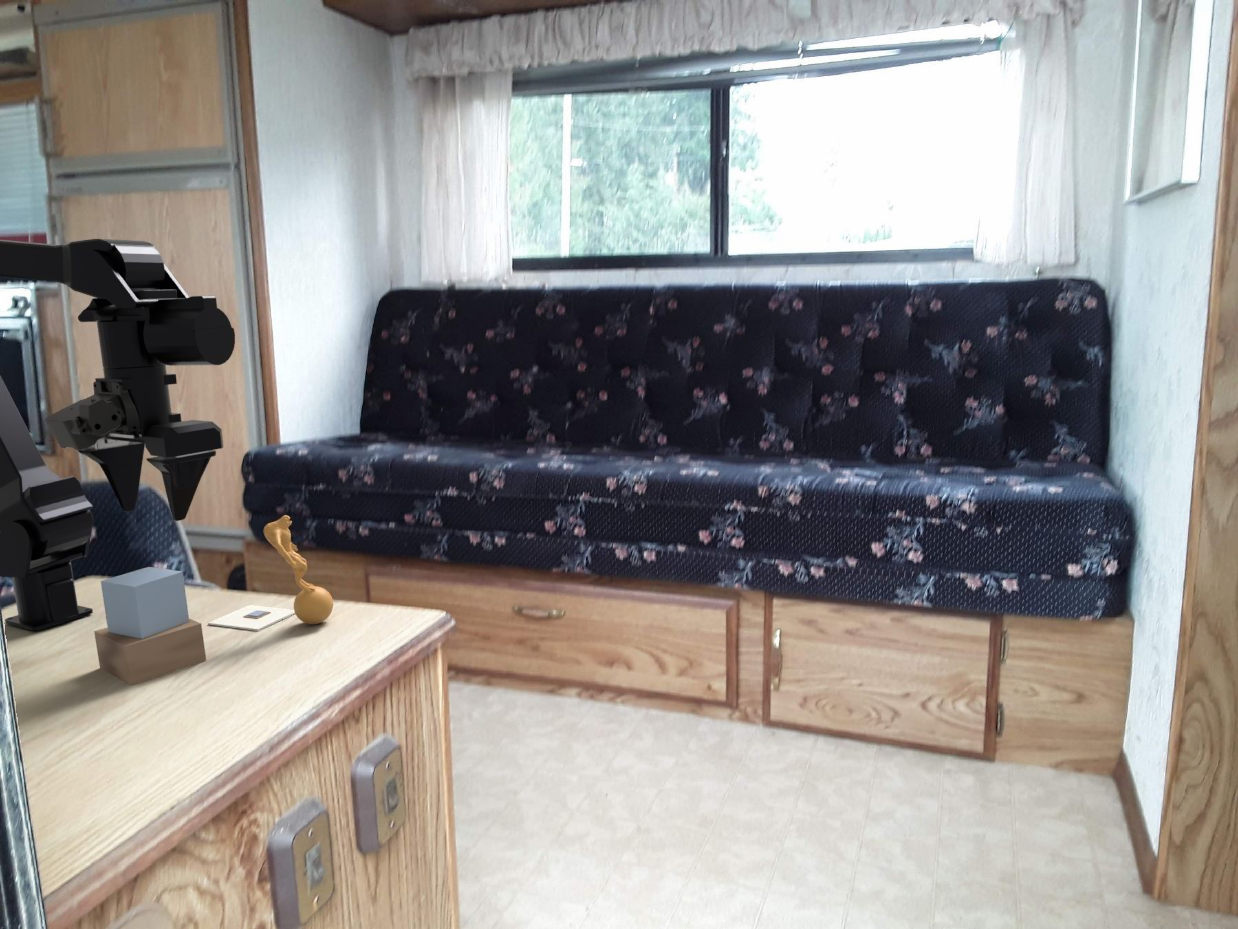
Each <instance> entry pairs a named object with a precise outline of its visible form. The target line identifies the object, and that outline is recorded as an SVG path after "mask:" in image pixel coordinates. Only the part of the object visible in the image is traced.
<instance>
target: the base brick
mask: <svg viewBox="0 0 1238 929" xmlns="http://www.w3.org/2000/svg"><path fill="white" fill-rule="evenodd" d="M93 633H94V639H95V644H96V651H97V658H98V663H99V664H98V665H99V669H101V670H103V671H104V672H106V673H108V674H110V675H111V676H113V677H115V678H117V679H119V680H121V681H123V682H124V683H126V684H128V685H130V686H133V685H137V684H140V683H143V682H146V681H149V680H152V679H154V678H158V677H161V676H163V675H166V674H170V673H172V672H173V673H174V672H176V671H179V670H181V669H184V668H188V667H191V666H194V665H197V664H200V663H203V662H205V661H206V662H207V656H206V655H207V654H206V649H205V641H204V636H203V635H204V634H203V627H202V623H201V622H199V621H197V620H194V619H191V618H189V622H187V623H184V624H181V625H179V626H176V627H173V628H171V629H168V630H165V631H162V632H160V633H157V634H154V635H152V636H149V637H146V638H143V639H140V638H135V637H130V636H125V635H120V634H115V633H110V632H108V627H105V628H101V629H97V630H94V631H93Z"/></svg>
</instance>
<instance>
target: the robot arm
mask: <svg viewBox="0 0 1238 929" xmlns="http://www.w3.org/2000/svg"><path fill="white" fill-rule="evenodd" d="M1 277H5V278H6V277H7V278H18V279H26V280H36V281H45V282H55V283H58V284H61V285H65V286H67V287H69V289H71V290H72V291H74V292H76V293H80V294H83V295H86V296H89V297H93V298H92V299H91V300H90V303H89V304H88V306H87V307H86V308H84V309H83V310H82V311H81V312H80V314H79V315H77V320H78V321H79V322H80V323H96V326H97V335H98V342H99V349H100V356H101V364H102V371H103V377H95V381H94V382H93V394H92V395H91V396H89V397H88V396H87V397H86V398H83V399H81V400H77V401H76V402H74V403H72V404H70V405H68V406H66V407H64V408H61V409H59V410H58V411H55V412H54V413H51V414H50V415H48V416H46V418H44V419H45V422H46V424H47V426H48V428H49V429H50V431H51V432H52V435H53V436H54V438H55V439H56V442H57V444H58V445H59V447H60V448H61V449H66V448H72V449H74V450H75V451H78V453H79V454H80V455H83V456H86V457H88V458H89V459H90V460H92V461H94V462H96V464H97V465H99V466H100V468H101V470H102V471H103V473H104V475H105V477H106V479H107V481H108V482H109V485H110V487H111V489H112V491H113V494H114V495H115V497H116V499H117V501H118V503H119V505H120V507H121V509H122V511H123V512H124V513H125V512H126V513H128V512H133V511H135V510H136V506H137V502H138V495H139V488H140V482H141V476H142V467H143V461H144V455H145V454H144V453H145V449H146V450H147V452H148V453H149V455H150V456H152V457H147V458H146V461H147V462H148V463H150V464H151V465H152V466H153V467H155V469H157V470H158V471H159V472H160V474H161V476H162V480H163V485H164V490H165V493H166V497H167V503H168V506H169V510H170V513H171V516H172V519H173V521H176V522H179V521H183V520H186V518H187V515H188V513H189V510H190V508H191V505H192V502H193V499H194V498H195V494H196V491H197V489H198V486H199V485H200V482H201V481H202V480H201V479H202V477H203V475H204V473H205V471H206V469H207V467H208V465H209V462H210V460H211V458H213V457H216V456H217V450H220V449H223V448H224V440H223V433H222V432H223V430H222V428H221V427H220V426H219V425H217V424H216V423H215V422H214V421H210V420H198V419H197V420H196V419H189V420H183V421H182V415H181V413H178V412H172V404H171V397H170V389H169V385H177V384H178V382H177V381H178V380H177V374H176V373H167V366H171V367H172V366H175V367H176V366H177V367H178V366H179V367H181V366H220V365H223V364H226V363H227V361H229V360H230V359H231V357H232V355H233V352H234V350H235V345H236V344H235V343H236V333H235V328H234V327H233V326H232V324H231V321H230V319H229V317H228V315H226V313H225V312H224V311H223V310H221V309H220V308H218V303H217V297H216V295H193V296H189V295H188V293H187V292H186V291H185V290H184V288H183V286H182V285H181V284H180V282H179V281H178V280H177V279H176V278H175V276H174V275H173V273H172V272H171V271H170V270H169V268H168V267H167V265H166V264H165V262H164V261H163V258H162V256H161V254H160V252H159V251H158V249H157V247H156V245H154V244H152V243H151V242H148V241H144V240H131V239H130V240H129V239H126V240H125V239H109V238H92V239H85V240H75V241H70V242H67V243H64V244H53V243H41V242H31V241H30V242H29V241H22V240H21V241H19V240H10V239H9V240H8V239H0V278H1ZM91 509H94V506H93V504H92V503H91V502H90V501H89V500H88V499H87V497H86V495H85V493H84V490H83V488H82V486H81V483H80V481H79V480H78V478H77V477H75V476H74V475H70V476H65V477H62V478H61V477H60V476H59V475H57V474H56V473H54V472H53V471H51V470H50V469H49V468H48V466H47V464H46V463H45V461H44V458H43V457H42V455H41V453H40V451H39V448H38V446H37V445H36V442H35V441H34V439H33V437H32V435H31V433H30V431H29V429H28V427H27V425H26V423H25V421H24V419H23V417H22V416H21V414H20V411H19V408H17V406H16V404H15V402H14V399H13V398H12V396H11V394H10V391H9V390H8V388H7V386H6V384H5V382H4V379H3V378H2V376H1V375H0V578H11V579H12V585H13V592H14V598H15V603H16V610H17V615H14V616H10V617H6V618H5V619H4V624H7V625H10V626H15V627H18V628H20V629H25V630H27V631H28V630H29V631H33V632H37V631H40V630H44V629H46V628H50V627H54V626H56V625H60V624H63V623H66V622H70V621H72V620H76V619H78V618H82V617H85V616H89V615H91V614H93V613H94V612H93V608H90V607H86V606H84V605H83V606H81V605H79V604H78V598H77V591H76V586H75V580H74V574H73V569H72V568H73V567H72V561H74V560H76V559H79V558H85V557H88V554H89V550H90V543H91V538H92V537H91V536H92V530H93V528H94V527H95V520H94V516H93V513H92V511H91Z"/></svg>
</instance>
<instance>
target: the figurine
mask: <svg viewBox="0 0 1238 929" xmlns="http://www.w3.org/2000/svg"><path fill="white" fill-rule="evenodd" d="M290 519H291V517H290V516H289V515H286V514H285V515H283V516H281V517H280V518H279V519H277V520H275V521H273V522H269V523H267V524H265V526H264V528H263V534H264V537H265V539H266V540H267V541H268V542H269V544H271V546H273V548H275V549H276V551H277V553H278V555H281V556H282V557H283V558H284V561H286V562H287V564H288V565H289V566H291V568H292V570H293V571H294V580H295V583H296V584H297V586H299V588H301V590H300V592H298V594H297V595H296V596H295V598H294V601H293V610H294V612H295V614H294V615H295V617H297V619H299V621H301V622H303V623H304V624H307V625H317V624H320V623H323V622H324V621H326V620H327V619H328V618H329V617H330V615H331V613H332V612H333V609H334V600H333V597H332V595H331V594H330V592H329V591H328V590H327V589H325V588H324V587H321V586H316V585H314V584H313V583H308V582H306V581H305V580H303V579H302V578H303V577H304V575H305V574H306V573H307V571H308V565H307V564H308V563H307V559H305V558H304V557H302V555H300V554H299V553H297V551H299V549H298V548H297V547H298V546H297V545H295V544H294V543H293V542H292V540H291V538H292V534H291V530H290V529H289V527H290V526H291V525H292V524H293V523H292V522H293V521H292V520H290Z"/></svg>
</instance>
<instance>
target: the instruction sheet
mask: <svg viewBox="0 0 1238 929" xmlns="http://www.w3.org/2000/svg"><path fill="white" fill-rule="evenodd" d="M293 614H294V615H296V614H295V612H294V609H288V608H279V607H272V606H271V607H270V606H263V605H252V604H249V605H247V606H244V607H242V608H239V609H236V610H235V611H232V612H230V613H228V614H226V615H223V616H220V617H219V618H218V617H217V618H216V619H214V620H211V621H209V622H207V624H208V625H210V626H217V627H224V628H232V629H233V628H234V629H241V630H249V631H255V632H259V631H262V630H264V629H266V628H268V627H271V626H272V625H274V624H277V623H279V622H281V621H283V620H285V619H287V618H289V617H292V616H294V615H293ZM291 615H292V616H291ZM282 619H283V620H282Z"/></svg>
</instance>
